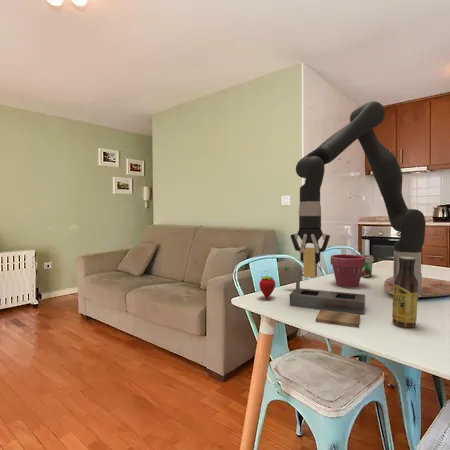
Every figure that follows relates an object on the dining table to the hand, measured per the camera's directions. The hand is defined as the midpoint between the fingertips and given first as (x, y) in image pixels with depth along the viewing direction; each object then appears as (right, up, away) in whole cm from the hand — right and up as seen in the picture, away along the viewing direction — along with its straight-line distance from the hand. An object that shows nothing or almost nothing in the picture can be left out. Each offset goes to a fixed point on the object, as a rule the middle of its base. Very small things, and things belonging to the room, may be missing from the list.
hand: (310, 262), depth 115 cm
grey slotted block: (+5, -15, -2) cm, 16 cm away
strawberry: (-14, -15, +9) cm, 22 cm away
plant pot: (+24, -13, +27) cm, 38 cm away
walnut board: (+5, -16, -16) cm, 22 cm away
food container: (+40, -12, +45) cm, 61 cm away
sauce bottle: (+22, -16, -20) cm, 34 cm away
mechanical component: (0, -14, +20) cm, 24 cm away
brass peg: (0, -5, 0) cm, 5 cm away
